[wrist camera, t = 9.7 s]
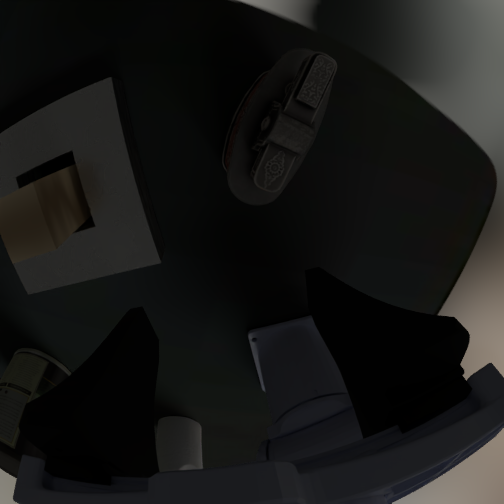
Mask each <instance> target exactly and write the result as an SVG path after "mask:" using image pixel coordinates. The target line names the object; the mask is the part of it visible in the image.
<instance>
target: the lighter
mask: <svg viewBox="0 0 504 504" xmlns="http://www.w3.org/2000/svg"><path fill="white" fill-rule="evenodd" d="M336 70H337V63H336V62H335V60H334V59H332V58H331V57H330V56H328V55H326V54H324V53H322V52H314V51H312V50H309V49H302V48H297V49H293V50H290V51H288V52H287V53H286V54H284V55H283V56H282V57H281V58H280V59H279V60H278V61H277V62H276V64H275V65H274V66H273V67H272V69H271V70H269V71H266V72H264V73H262V74H261V75H260V76H259V77H258V78H257V79H256V80H255V82H254V83H253V84H252V86H251V87H250V88H249V90H248V91H247V92H246V94H245V95H244V97H243V99H242V101H241V102H240V104H239V106H238V108H237V110H236V111H235V113H234V116H233V118H232V121H231V124H230V127H229V129H228V132H227V135H226V139H225V144H224V148H223V153H222V164H223V166H224V169H225V170H226V171H227V182H228V185H229V187H230V190H231V192H232V193H233V194H234V195H235V196H236V197H237V198H238V199H239V200H241V201H243V202H245V203H247V204H251V205H265V204H268V203H270V202H272V201H274V200H275V199H276V198H277V197H278V196H279V195H280V194H281V192H282V191H283V189H284V188H285V187H286V185H287V184H288V182H289V181H290V180H291V178H292V177H293V175H294V174H295V173H296V171H297V170H298V168H299V167H300V165H301V163H302V161H303V159H304V158H305V156H306V154H307V152H308V150H309V149H310V147H311V145H312V143H313V141H314V139H315V137H316V134H317V132H318V129H319V126H320V124H321V121H322V119H323V116H324V113H325V111H326V107H327V103H328V99H329V95H330V91H331V87H332V82H333V77H334V75H335V73H336Z"/></svg>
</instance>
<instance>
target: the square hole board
mask: <svg viewBox="0 0 504 504" xmlns="http://www.w3.org/2000/svg"><path fill="white" fill-rule="evenodd" d="M71 152H73V155H74V159H75V162H76V166H77V170H78V173H79V177H80V180H81V184H82V187H83V190H84V193H85V197H86V200H87V203H88V206H89V209H90V212H91V215H92V218H93V219H92V220H89V221H86V222H84V223H83V224H82V225H81V226H80V227H79V228H78V229H77V230H76V231H75V232H74V233H73V234H72V235H71V236H69V237H68V238H67V239H66V240H65V241H64V242H63V243H62V244H61V245H60V246H59V247H58V248H57V249H56V250H53V251H50V252H47V253H44V254H41V255H38V256H35V257H32V258H29V259H26V260H23V261H20V262H17V263H14V267H15V269H16V271H17V273H18V275H19V277H20V279H21V281H22V283H23V285H24V287H25V289H26V291H27V293H28V294H33V293H37V292H41V291H45V290H49V289H53V288H57V287H61V286H65V285H70V284H74V283H78V282H82V281H86V280H90V279H95V278H99V277H103V276H107V275H111V274H116V273H120V272H124V271H128V270H133V269H137V268H141V267H146V266H150V265H154V264H158V263H161V262H162V258H163V255H164V252H165V248H166V247H165V244H164V241H163V238H162V235H161V232H160V229H159V225H158V222H157V219H156V216H155V212H154V209H153V206H152V202H151V199H150V195H149V192H148V188H147V185H146V181H145V177H144V174H143V170H142V166H141V162H140V158H139V154H138V150H137V146H136V142H135V138H134V134H133V129H132V125H131V121H130V116H129V111H128V107H127V102H126V97H125V92H124V87H123V82H122V81H121V80H118V79H116V78H113V77H109V78H107V79H104V80H101V81H99V82H97V83H94V84H92V85H89V86H87V87H85V88H82V89H80V90H78V91H76V92H74V93H71V94H69V95H67V96H65V97H63V98H61V99H59V100H57V101H55V102H53V103H51V104H49V105H47V106H45V107H43V108H42V109H40V110H38V111H36V112H34V113H33V114H31V115H29V116H27V117H26V118H24V119H22V120H21V121H19V122H17V123H16V124H14V125H13V126H11V127H9V128H8V129H6V130H5V131H3V132H2V133H0V199H1V198H3V197H5V196H7V195H8V194H10V193H12V192H14V191H16V190H18V189H20V188H22V187H24V186H26V185H28V184H30V183H32V182H35V178H34V175H33V171H32V170H34V169H36V168H38V167H40V166H42V165H44V164H47V163H49V162H51V161H53V160H55V159H57V158H60V157H62V156H64V155H66V154H69V153H71Z"/></svg>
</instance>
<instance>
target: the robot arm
mask: <svg viewBox="0 0 504 504" xmlns="http://www.w3.org/2000/svg"><path fill="white" fill-rule="evenodd" d="M305 274H306V285H307V296H308V308H309V310H310V313H311V315H310V316H306V317H302V318H298V319H294V320H290V321H286V322H282V323H278V324H274V325H270V326H266V327H261V328H257V329H253V330H250V331H249V332H248V339H249V342H250V346H251V350H252V354H253V357H254V361H255V365H256V368H257V372H258V376H259V379H260V383H261V386H262V390H263V391H265V392H266V396H267V401H268V405H269V409H270V414H271V418H272V422H273V425H272V426H269V427H267V432H268V437H269V439H267V440H264V441H263V442H261V444H260V447H259V450H258V452H257V457H256V461H255V462H249V463H243V464H236V465H229V466H222V467H213V468H203V469H191V470H174V471H165V472H160V471H159V466H158V460H157V452H156V444H155V432H154V396H155V388H156V380H157V372H158V364H159V340H158V338H157V336H156V334H155V332H154V330H153V328H152V326H151V324H150V321H149V319H148V317H147V315H146V313H145V311H144V309H143V307H138V308H133V309H130V310H129V311H128V312H127V313H126V314H125V315H124V317H123V318H122V319H121V320H120V322H119V323H118V324H117V325H116V327H115V328H114V329H113V330H112V331H111V333H110V334H109V335H108V336H107V338H106V339H105V340H104V341H103V342H102V343H101V345H100V346H99V347H98V348H97V349H96V350H95V352H94V353H93V354H92V355H91V356H90V357H89V358H88V359H87V360H86V361H85V362H84V363H83V364H82V365H81V366H80V367H79V368H78V369H77V370H75V371H74V372H73V373H72V374H71V375H69V376H68V377H67V378H66V379H65V380H63V381H62V382H61V383H59V384H58V385H57V386H55V387H54V388H52V389H51V390H49V391H48V392H46V393H45V394H43V395H41V396H39V397H38V398H36V399H34V400H32V401H30V402H28V403H26V405H25V408H24V411H23V414H22V417H21V419H20V422H19V426H18V427H19V430H20V432H21V433H22V435H23V436H24V437H25V438H26V439H27V440H28V441H29V442H31V443H32V444H33V445H34V446H36V447H37V448H38V449H39V450H41V451H42V452H43V453H44V454H46V455H47V459H46V461H44V460H42V459H40V458H36V457H32V456H28V455H22V459H21V463H20V467H19V471H18V476H17V481H16V485H15V490H14V495H13V500H14V501H15V502H17V503H19V504H392V502H394V501H396V500H399V499H401V498H402V497H405V496H406V495H408V494H410V493H412V492H414V491H416V490H418V489H419V488H421V487H423V486H425V485H426V484H428V483H430V482H431V481H433V480H435V479H436V478H438V477H440V476H441V475H443V474H444V473H446V472H447V471H449V470H450V469H452V468H453V467H455V466H456V465H458V464H459V463H461V462H462V461H463V460H465V459H466V458H468V457H469V456H470V455H472V454H473V453H475V452H476V451H477V450H479V449H480V448H481V447H483V446H484V445H485V444H486V443H488V442H489V441H490V440H492V439H493V438H494V437H495V436H496V435H497V434H498V433H499V432H500V431H501V430H502V428H504V378H503V376H502V375H501V374H500V373H499V371H498V370H497V369H496V368H495V366H494V365H493V364H492V363H489V364H487V365H486V366H485V367H483V368H482V369H480V370H478V371H477V372H476V373H474V374H473V375H471V376H470V377H469V378H468V379H467V381H466V380H465V378H464V377H463V376H462V375H463V374H464V369H463V368H462V367H461V365H460V363H461V361H462V359H463V357H464V355H465V352H466V350H467V348H468V344H469V338H470V335H469V333H468V331H467V330H466V329H465V328H464V327H463V326H462V325H461V323H460V322H459V321H458V320H457V319H456V318H455V317H448V316H438V315H430V314H425V313H419V312H415V311H410V310H406V309H403V308H400V307H396V306H393V305H390V304H387V303H385V302H382V301H380V300H377V299H375V298H372V297H370V296H368V295H366V294H364V293H362V292H360V291H358V290H356V289H354V288H352V287H351V286H349V285H347V284H345V283H344V282H342V281H340V280H339V279H337V278H335V277H334V276H332V275H331V274H329V273H327V272H326V271H324V270H323V269H321V268H319V267H317V268H313V269H309V270H305ZM252 338H256V339H252Z"/></svg>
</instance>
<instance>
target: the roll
mask: <svg viewBox="0 0 504 504" xmlns="http://www.w3.org/2000/svg"><path fill="white" fill-rule="evenodd" d="M156 452H157V460H158V466H159V471H160V472H165V471H174V470H191V469H203V464H202V447H201V425H200V424H199V423H198V422H196V421H194V420H192V419H190V418H187V417H181V416H168V417H163V418H161V419H159V421H158V427H157V439H156Z"/></svg>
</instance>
